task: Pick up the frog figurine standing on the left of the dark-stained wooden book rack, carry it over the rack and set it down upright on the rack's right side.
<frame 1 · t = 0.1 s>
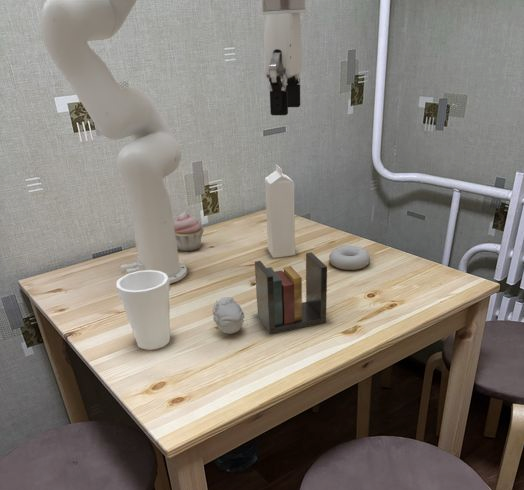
hand: (286, 110, 101), 37 cm above the table, tool pointing down, fingers open, 9 cm apart
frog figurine: (230, 332, 105), on the table
book rack: (291, 319, 108), on the table
foam cup: (153, 342, 103), on the table
donut: (349, 264, 130), on the table
milk: (281, 253, 139), on the table
cupcake: (189, 248, 145), on the table
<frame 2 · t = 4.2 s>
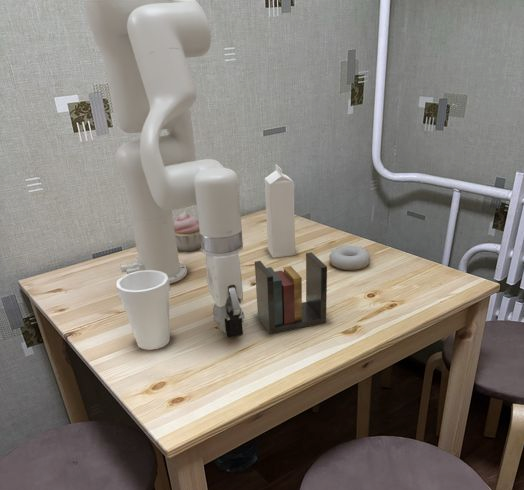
hand: (229, 325, 104), 1 cm above the table, tool pointing down, fingers closed on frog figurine, 6 cm apart
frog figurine: (230, 332, 105), on the table, touching gripper
everything else where it was.
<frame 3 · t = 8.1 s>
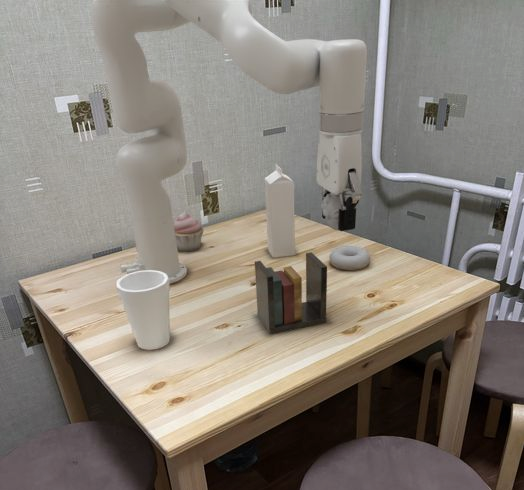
hand: (338, 222, 100), 19 cm above the table, tool pointing down, fingers closed on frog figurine, 6 cm apart
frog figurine: (337, 230, 101), point 17 cm above the table, touching gripper
everything else where it was.
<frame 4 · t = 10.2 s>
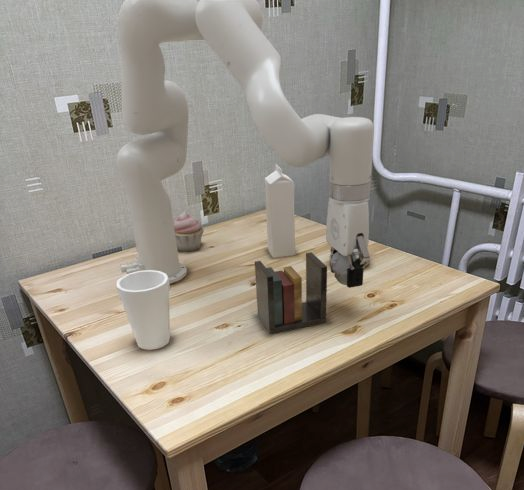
hand: (346, 278, 107), 7 cm above the table, tool pointing down, fingers closed on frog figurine, 6 cm apart
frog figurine: (346, 284, 107), point 6 cm above the table, touching gripper
everything else where it was.
when the fingers open (1 cm above the table, at t = 12.0 s): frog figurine stays where it is, on the table.
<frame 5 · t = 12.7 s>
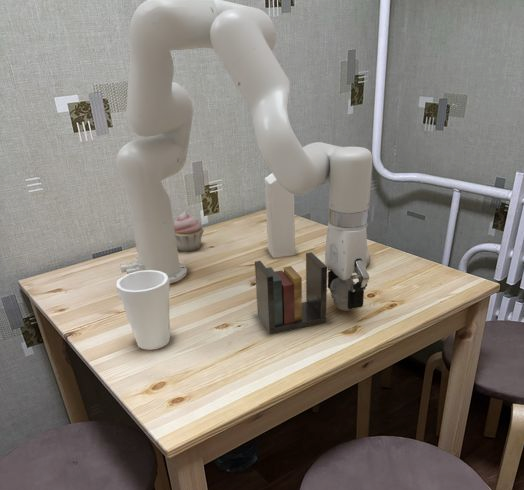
hand: (344, 297, 109), 3 cm above the table, tool pointing down, fingers open, 9 cm apart
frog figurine: (344, 309, 111), on the table
everything else where it was.
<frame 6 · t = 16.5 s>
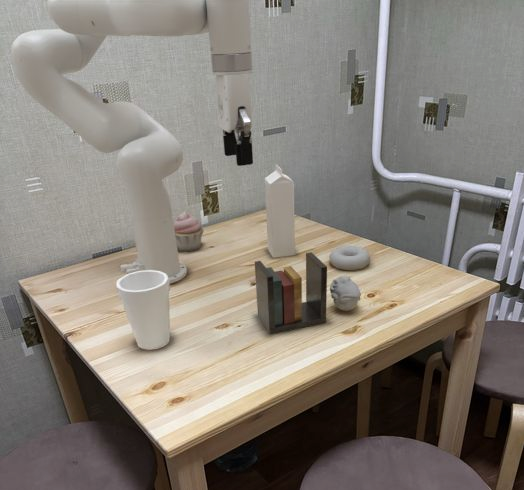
hand: (238, 159, 107), 28 cm above the table, tool pointing down, fingers open, 9 cm apart
nothing on the table moved.
at the end: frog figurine inside the target area on the table beside the book rack (1.2 cm from its centre), on the table; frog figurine tilted 0°; the gripper is holding nothing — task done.
